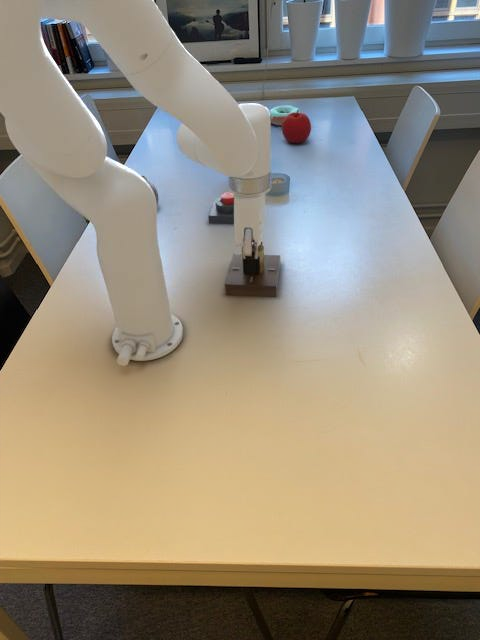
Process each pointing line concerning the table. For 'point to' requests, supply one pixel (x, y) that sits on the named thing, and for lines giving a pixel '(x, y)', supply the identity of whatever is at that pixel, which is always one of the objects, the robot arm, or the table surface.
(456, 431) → the table surface
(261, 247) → the knob
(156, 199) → the vase
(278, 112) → the donut
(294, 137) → the apple
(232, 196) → the button
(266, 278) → the panel
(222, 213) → the button block
